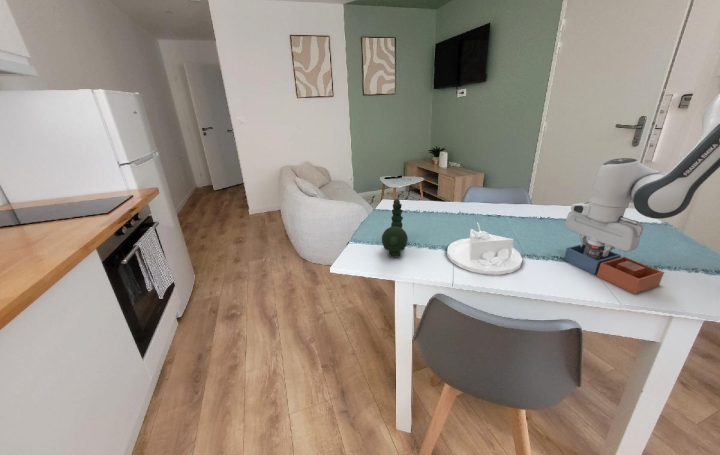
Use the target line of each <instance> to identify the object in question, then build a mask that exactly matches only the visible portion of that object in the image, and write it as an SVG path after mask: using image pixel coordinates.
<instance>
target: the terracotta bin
mask: <svg viewBox="0 0 720 455" xmlns="http://www.w3.org/2000/svg"><path fill="white" fill-rule="evenodd" d="M625 261H629V262H632V263H634V264H637V265H639V266H642V267H644V268H645V270H644V272H643V275H642V278H640V279H638V278H636V277H634V276H632V275H629V274H627V273H625V272H622V271H620V270H618V269H616V267H617V264H618V263H622V262H625ZM664 274H665V272H664V271H662V270H659V269H657V268H654V267H652V266H649V265H646V264H644V263H642V262H639V261H637V260H634V259H632V258H629V257H626V256H621V257H620V258H617V259H613V260H610V261H606V262H603V263H601V264H600V267H599V271H598V273H597V274H596V277H598V278H601V279H603V280H604V281H607V282H609V283H611V284H613V285H615V286H617V287H619V288H621V289H623V290H625V291H628V292H629V293H632V294H634V295H636V294H638V293H642V292H645V291H647V290H651V289H654V288H657V287H659V286H660V283H661V281H662V279H663V277H664Z"/></svg>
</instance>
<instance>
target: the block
mask: <svg viewBox="0 0 720 455" xmlns="http://www.w3.org/2000/svg"><path fill="white" fill-rule="evenodd" d="M616 269H618V270H620V271H622V272H625V273H627V274H629V275H632V276H634V277H636V278H638V279H640V278H642V275H643V272H644V270H645V268H644V267H642V266H639V265H637V264H634V263H632V262H629V261H625V262H622V263H618V264H617V267H616Z"/></svg>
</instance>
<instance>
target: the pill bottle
mask: <svg viewBox="0 0 720 455" xmlns="http://www.w3.org/2000/svg"><path fill="white" fill-rule="evenodd" d="M604 249H606V244H604V243H602V242H599V241H597V240H596V238H595V237H591V238H589V237H588V239H587V243H586V246H585V250H584V253H583V254H584V255H586V256H588V257H591V258H593V259H595V260H597V261H598V260H601V257H602V256H601V255H599V253H600V250H604Z"/></svg>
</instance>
